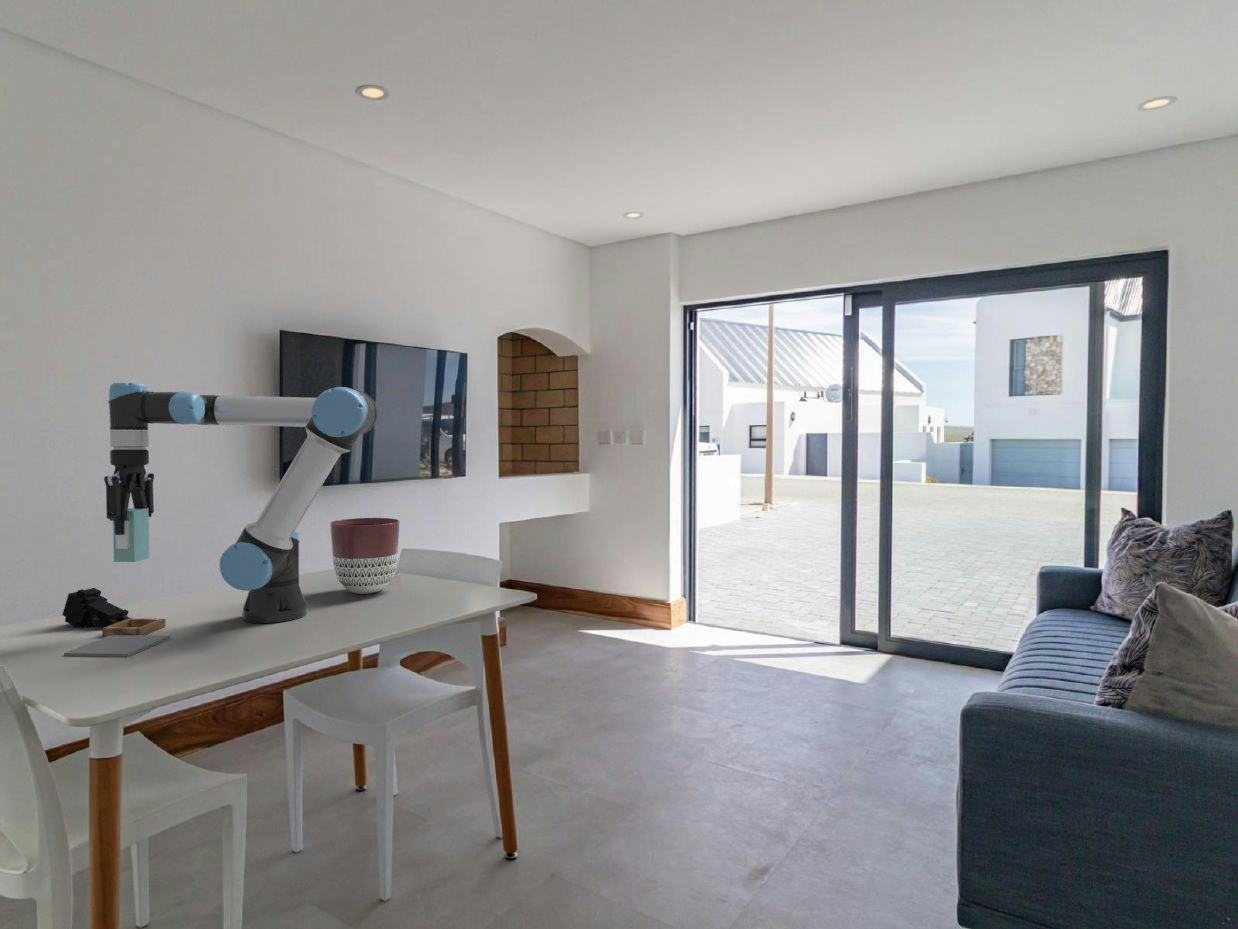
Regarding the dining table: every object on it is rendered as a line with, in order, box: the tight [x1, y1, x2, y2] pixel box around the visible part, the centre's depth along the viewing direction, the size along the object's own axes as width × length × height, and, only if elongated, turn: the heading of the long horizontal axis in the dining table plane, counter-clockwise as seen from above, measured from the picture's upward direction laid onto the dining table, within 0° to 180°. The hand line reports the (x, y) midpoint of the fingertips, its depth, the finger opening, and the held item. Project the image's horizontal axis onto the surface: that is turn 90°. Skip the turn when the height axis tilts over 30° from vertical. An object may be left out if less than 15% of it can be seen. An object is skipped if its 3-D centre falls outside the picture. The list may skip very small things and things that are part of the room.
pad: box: [63, 634, 172, 658], centre depth 161 cm, size 14×14×1 cm
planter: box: [330, 517, 400, 595], centre depth 217 cm, size 20×20×21 cm
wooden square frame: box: [101, 617, 166, 638], centre depth 173 cm, size 9×9×2 cm
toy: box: [61, 587, 130, 628], centre depth 178 cm, size 9×8×15 cm
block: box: [112, 508, 150, 563], centre depth 171 cm, size 5×5×12 cm
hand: (131, 546), depth 171 cm, fingers closed on block, 5 cm apart
